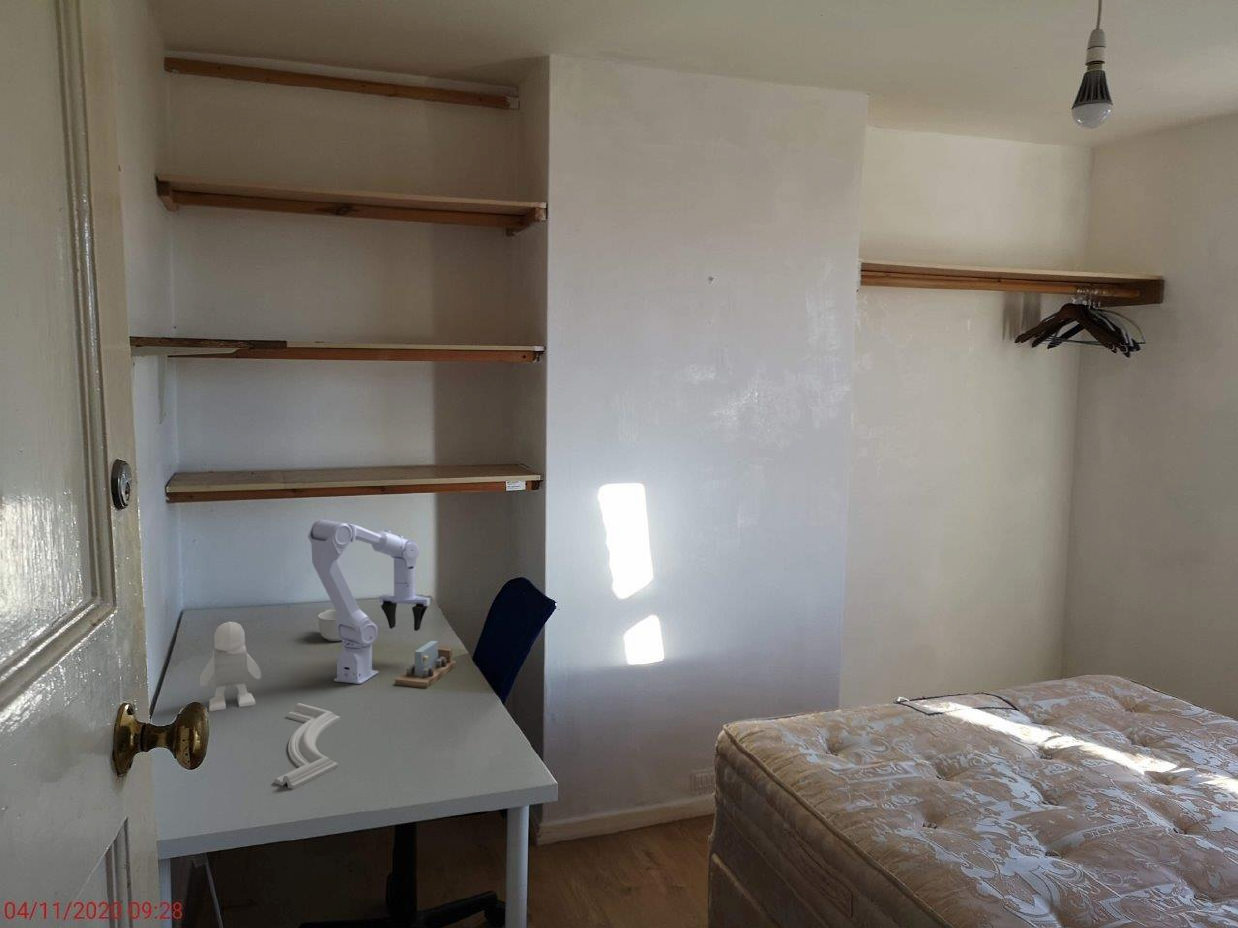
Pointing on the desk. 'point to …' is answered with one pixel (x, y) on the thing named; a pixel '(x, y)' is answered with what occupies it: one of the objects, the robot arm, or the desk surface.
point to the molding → (307, 746)
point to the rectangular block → (426, 657)
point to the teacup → (329, 625)
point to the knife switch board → (428, 671)
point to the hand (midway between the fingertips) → (404, 628)
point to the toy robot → (230, 666)
